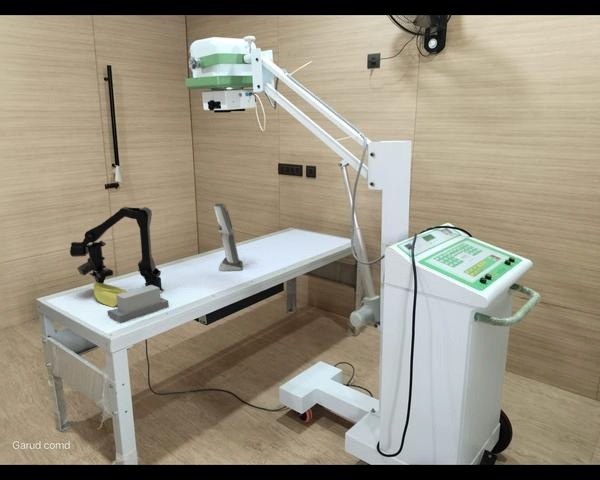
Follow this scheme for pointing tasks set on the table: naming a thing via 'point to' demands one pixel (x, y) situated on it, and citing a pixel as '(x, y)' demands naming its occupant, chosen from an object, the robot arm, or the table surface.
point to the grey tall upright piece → (227, 240)
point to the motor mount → (138, 303)
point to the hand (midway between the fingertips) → (100, 287)
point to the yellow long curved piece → (107, 293)
